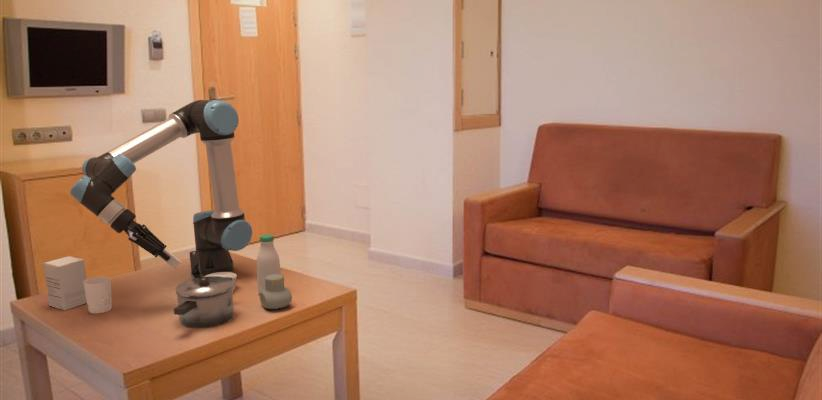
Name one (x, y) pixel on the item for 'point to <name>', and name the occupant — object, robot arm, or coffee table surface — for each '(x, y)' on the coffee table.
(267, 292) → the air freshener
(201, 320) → the pot
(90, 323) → the coffee table surface
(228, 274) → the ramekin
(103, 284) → the white cup
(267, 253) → the milk bottle
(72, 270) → the supplement box
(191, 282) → the lid
